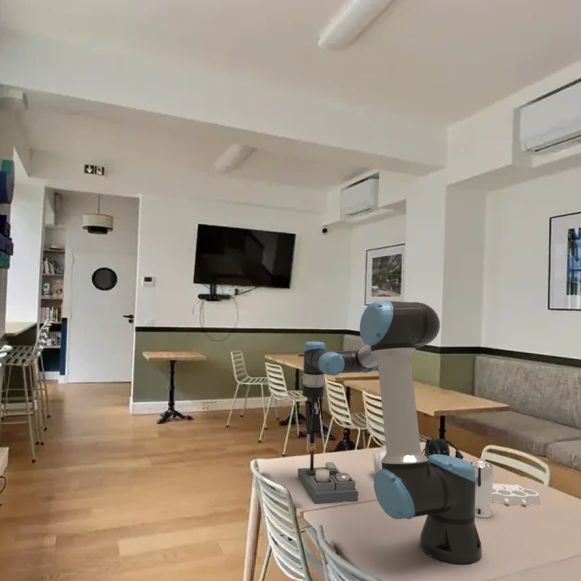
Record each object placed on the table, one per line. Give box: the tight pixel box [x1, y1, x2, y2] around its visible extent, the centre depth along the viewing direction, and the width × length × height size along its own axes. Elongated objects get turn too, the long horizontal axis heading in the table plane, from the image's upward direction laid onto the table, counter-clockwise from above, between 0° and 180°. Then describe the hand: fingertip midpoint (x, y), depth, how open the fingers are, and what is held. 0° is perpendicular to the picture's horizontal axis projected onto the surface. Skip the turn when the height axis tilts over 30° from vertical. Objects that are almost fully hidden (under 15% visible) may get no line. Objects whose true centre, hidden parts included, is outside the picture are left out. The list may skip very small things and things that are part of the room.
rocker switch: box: [324, 461, 338, 471], centre depth 172 cm, size 4×3×1 cm, turn 13°
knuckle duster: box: [490, 483, 540, 507], centre depth 161 cm, size 3×18×15 cm
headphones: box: [421, 438, 464, 460], centre depth 193 cm, size 13×13×20 cm
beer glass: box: [469, 460, 494, 519], centre depth 148 cm, size 7×7×15 cm
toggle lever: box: [309, 444, 317, 471], centre depth 171 cm, size 3×3×9 cm
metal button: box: [336, 472, 351, 482], centre depth 159 cm, size 4×4×3 cm
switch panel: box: [297, 466, 359, 505], centre depth 165 cm, size 24×14×6 cm, turn 13°
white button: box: [316, 469, 329, 483], centre depth 158 cm, size 4×4×3 cm
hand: (310, 451), depth 172 cm, fingers closed
